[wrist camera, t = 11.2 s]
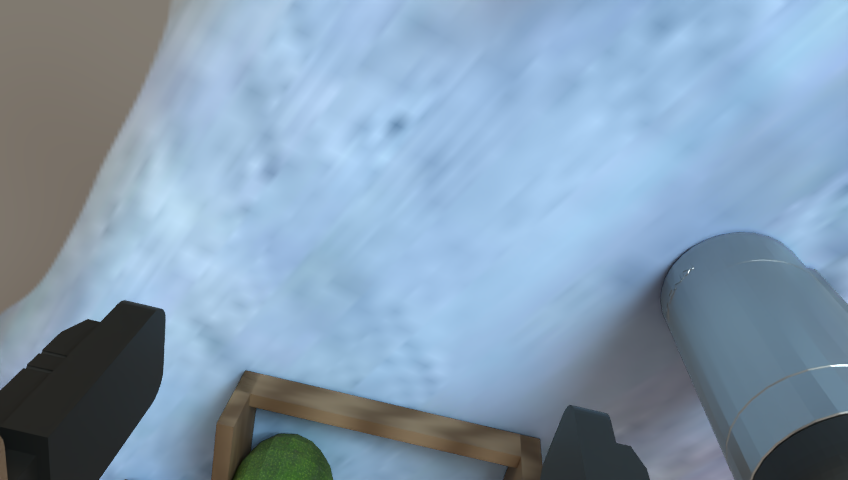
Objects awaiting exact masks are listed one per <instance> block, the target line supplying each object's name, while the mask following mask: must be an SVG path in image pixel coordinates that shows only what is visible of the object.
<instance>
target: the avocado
mask: <svg viewBox="0 0 848 480" xmlns="http://www.w3.org/2000/svg"><path fill="white" fill-rule="evenodd" d="M233 480H333V477H332V473H331V468H330V465H329V464H328V462H327V460H326V458H325V457H324V455H323V454H322V452H321V450H320V449H319V448H318V447H317V446H316V445H315V444H314V443H313V442H312V441H310V440H308V439H306V438H304V437H302V436H300V435H298V434H277V435H275V436H273V437H271V438H268V439H266V440H264V441H262V442H261V443H259V444H258V445H257V446H256V447H255V448H254V449H253V450H252V451H251V452H250V453H249V454H248V455H247V456H246V457H245V459H244V460H243V461H242V462H241V464H240V465H239V467H238V469H237V470H236V472H235V475H234V477H233Z"/></svg>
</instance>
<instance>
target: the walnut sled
mask: <svg viewBox="0 0 848 480" xmlns="http://www.w3.org/2000/svg"><path fill="white" fill-rule="evenodd" d="M256 408H260V409H264V410H269V411H273V412H277V413H281V414H286V415H290V416H294V417H299V418H303V419H307V420H312V421H316V422H320V423H324V424H329V425H333V426H337V427H342V428H346V429H350V430H355V431H359V432H363V433H367V434H372V435H376V436H380V437H385V438H389V439H393V440H398V441H402V442H406V443H410V444H415V445H419V446H423V447H428V448H432V449H436V450H441V451H445V452H449V453H454V454H458V455H462V456H466V457H471V458H475V459H479V460H484V461H488V462H492V463H497V464H501V465H505V466H508V468H507V471H506V473H505V476H504V479H503V480H540V477H541V471H542V467H543V466H542V455H541V445H540V439H538V438H534V437H529V436H525V435H521V434H516V433H512V432H508V431H504V430H499V429H495V428H491V427H486V426H482V425H478V424H474V423H469V422H465V421H461V420H456V419H452V418H448V417H444V416H439V415H435V414H431V413H426V412H422V411H418V410H414V409H409V408H405V407H401V406H396V405H392V404H388V403H384V402H379V401H375V400H371V399H366V398H362V397H358V396H353V395H349V394H345V393H341V392H336V391H332V390H328V389H323V388H319V387H315V386H311V385H306V384H302V383H298V382H293V381H289V380H285V379H281V378H276V377H272V376H268V375H263V374H259V373H255V372H251V371H246V370H245V372H244V374H243V376H242V378H241V379H240V381H239V383H238V385H237V387H236V389H235V391H234V392H233V394H232V396H231V398H230V400H229V402H228V403H227V405H226V407H225V409H224V411H223V413H222V414H221V416H220V418H219V420H218V422H217V425H216V435H215V446H214V457H213V467H212V478H211V480H233V477H234V475H235V472H236V470H237V469H238V467H239V465H240V464H241V462H242V461H243V460H244V459H245V457H246V456H247V455H248V454H249V453H250V452H251V444H252V436H253V428H254V421H255V413H256Z"/></svg>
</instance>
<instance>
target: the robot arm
mask: <svg viewBox="0 0 848 480" xmlns="http://www.w3.org/2000/svg"><path fill="white" fill-rule="evenodd" d="M661 307H662V312H663V315H664V318H665V320H666V322H667V324H668V327H669V329H670V331H671V334H672V336H673V338H674V341H675V343H676V345H677V348H678V351H679V353H680V355H681V358H682V360H683V362H684V364H685V367H686V369H687V371H688V374H689V376H690V378H691V381H692V383H693V385H694V388H695V390H696V392H697V394H698V397H699V399H700V401H701V404H702V406H703V408H704V411H705V413H706V415H707V418H708V420H709V422H710V425H711V427H712V429H713V431H714V434H715V436H716V438H717V441H718V443H719V445H720V448H721V450H722V452H723V455H724V457H725V459H726V461H727V464H728V466H729V468H730V471H731V472H732V475H733V477H734V479H735V480H848V304H847V303H846V302H845V301H844V300H843V298H842V297H841V296H840V295H839V294H838V293H837V292H836V291H835V290H834V289H833V288H832V287H831V285H830V284H829V283H828V282H827V281H826V280H825V279H824V278H823V277H822V276H821V275H820V274H819V273H818V271H817V270H815V269H811V268H807V267H806V266H805V265H804V264H803V263H802V262H801V261H800V260H799V259H798V257H797V256H796V255H795V254H794V253H793V252H792V251H791V250H790V249H789V248H787V247H786V246H785V245H784V244H783V243H781V242H779V241H777V240H775V239H773V238H771V237H769V236H765V235H761V234H757V233H746V232H736V233H729V234H722V235H719V236H716V237H713V238H710V239H707V240H705V241H703V242H701V243H699V244H697V245H695V246H694V247H692V248H691V249H690V250H688V251H687V252H686V253H684V254H683V255H682V256H681V257H680V258H679V259H678V260H677V261H676V263H675V264H674V265H673V266H672V267H671V269H670V271H669V273H668V274H667V276H666V278H665V281H664V284H663V287H662V290H661ZM164 342H165V312H164V310H163V309H160V308H156V307H152V306H147V305H143V304H139V303H134V302H130V301H126V300H124V301H121V302H120V303H119V304H117V305H116V306H115V308H114V309H113V310H112V311H111V312H110V313H109V314H108V315H107V316H106V317H105V318H104V319H103V320H102V321H101V322H98V321H93V320H89V319H87V320H85V321H83V322H81V323H79V324H77V325H75V326H73V327H71V328H68V329H66V330H64V331H62V332H61V333H60V334H59V335H57V336H56V337H55V338H54V339H53V340H52V341H51V342H50V343H49V344H48V345H47V346H46V347H45V348H44V349H43V350H42V353H41V354H38V355H37V356H36V357H35V358H34V359H33V360H32V361H30V362H29V363H28V364H27V368H26V369H24V368H23V369H22V370H21V371H20V372H19V373H18V374H17V375H16V376H15V377H14V378H13V379H12V380H11V381H10V382H9V383H8V384H7V385H6V386H5V387H3V388H2V389H1V390H0V480H99V479H100V477H101V476H102V475H103V473H104V472H105V470H106V469H107V467H108V466H109V465H110V463H111V462H112V460H113V459H114V457H115V456H116V455H117V453H118V452H119V450H120V449H121V447H122V446H123V444H124V443H125V442H126V440H127V439H128V437H129V436H130V434H131V433H132V432H133V430H134V429H135V427H136V426H137V424H138V423H139V422H140V420H141V419H142V417H143V416H144V414H145V413H146V412H147V410H148V409H149V407H150V406H151V404H152V403H153V401H154V399H155V397H156V395H157V393H158V390H159V387H160V384H161V381H162V376H163V365H164ZM540 480H650V479H649V475H648V472H647V469H646V467H645V466H644V465H643V463H642V462H641V460H640V459H639V458H638V456H637V455H636V453H635V452H634V451H633V449H632V448H631V446H627V445H623V444H618V443H616V441H615V437H614V432H613V428H612V424H611V420H610V417H609V415H608V414H606V413H602V412H598V411H594V410H590V409H585V408H581V407H577V406H572V405H569V406H568V407H567V408H566V410H565V411H564V414H563V416H562V419H561V421H560V423H559V426H558V428H557V431H556V433H555V436H554V438H553V441H552V443H551V446H550V448H549V451H548V453H547V455H546V458H545V461H544V463H543V467H542V471H541V477H540Z"/></svg>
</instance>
